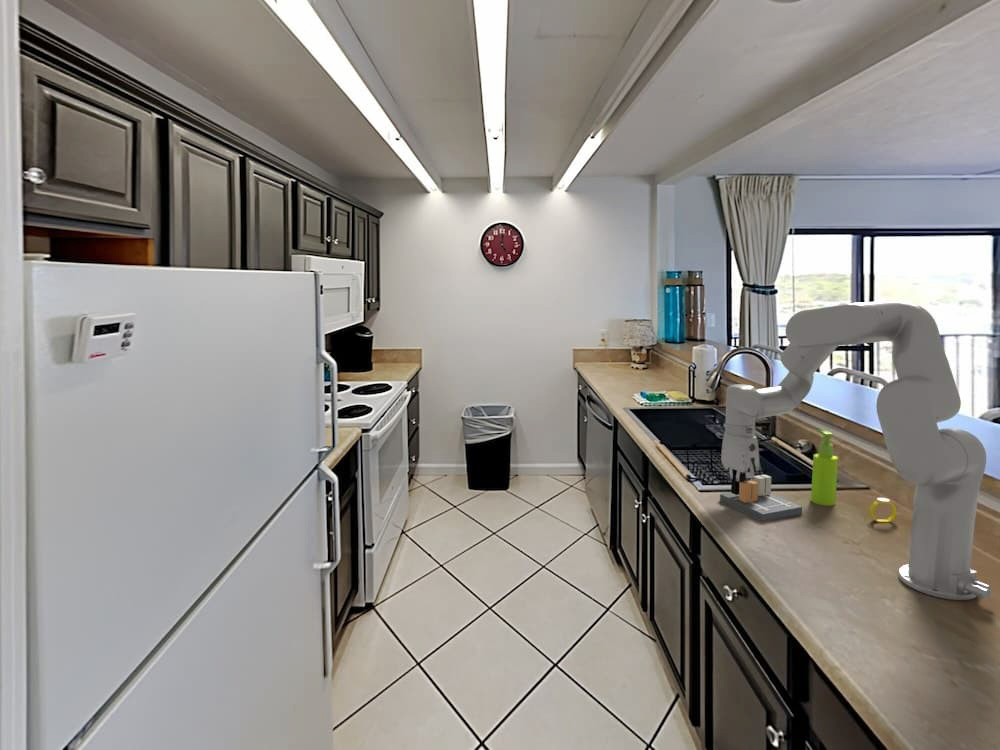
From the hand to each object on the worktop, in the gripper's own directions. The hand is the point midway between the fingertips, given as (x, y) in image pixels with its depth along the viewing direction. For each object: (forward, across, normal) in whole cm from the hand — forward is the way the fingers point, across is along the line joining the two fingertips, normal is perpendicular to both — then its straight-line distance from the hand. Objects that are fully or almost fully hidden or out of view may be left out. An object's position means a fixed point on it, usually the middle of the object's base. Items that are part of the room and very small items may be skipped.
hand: (737, 493), depth 156 cm
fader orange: (+1, -4, 0) cm, 4 cm away
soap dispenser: (+3, -8, -22) cm, 24 cm away
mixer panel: (+3, -4, -4) cm, 6 cm away
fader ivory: (+1, -1, -7) cm, 7 cm away
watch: (+3, -24, -24) cm, 34 cm away
